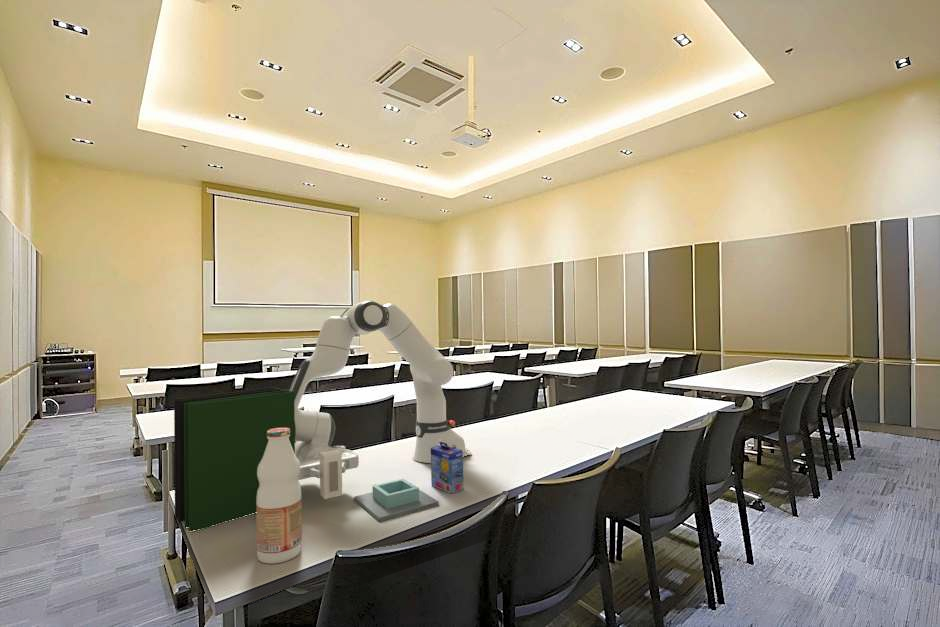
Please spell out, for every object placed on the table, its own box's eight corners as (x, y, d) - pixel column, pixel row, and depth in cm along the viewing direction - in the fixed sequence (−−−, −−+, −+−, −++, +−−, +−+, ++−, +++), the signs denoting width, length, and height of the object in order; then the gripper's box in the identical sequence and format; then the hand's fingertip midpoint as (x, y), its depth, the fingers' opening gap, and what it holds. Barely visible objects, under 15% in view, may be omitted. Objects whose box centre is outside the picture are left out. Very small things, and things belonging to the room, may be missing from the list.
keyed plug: (337, 490, 134) (336, 449, 134) (343, 496, 130) (342, 453, 130) (320, 494, 131) (319, 452, 131) (325, 500, 127) (325, 456, 127)
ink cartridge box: (430, 486, 145) (429, 440, 146) (443, 481, 149) (442, 436, 149) (451, 494, 138) (450, 446, 139) (464, 489, 142) (463, 442, 142)
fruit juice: (260, 569, 98) (258, 437, 98) (254, 551, 106) (253, 428, 106) (306, 556, 103) (304, 430, 103) (297, 540, 111) (295, 423, 111)
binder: (190, 533, 115) (189, 405, 115) (173, 517, 125) (172, 398, 126) (295, 501, 135) (294, 391, 135) (273, 489, 145) (272, 387, 145)
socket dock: (409, 486, 145) (409, 472, 145) (438, 505, 130) (438, 489, 131) (354, 500, 135) (353, 484, 135) (379, 521, 120) (379, 504, 120)
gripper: (281, 456, 136) (293, 469, 125) (348, 444, 148) (365, 454, 136) (281, 478, 136) (293, 492, 125) (349, 464, 148) (365, 476, 136)
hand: (331, 472), depth 131 cm, fingers closed on keyed plug, 5 cm apart
